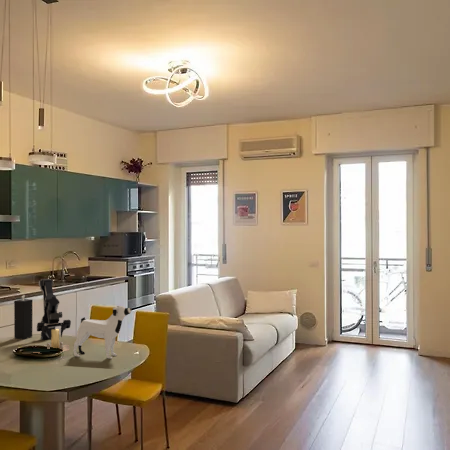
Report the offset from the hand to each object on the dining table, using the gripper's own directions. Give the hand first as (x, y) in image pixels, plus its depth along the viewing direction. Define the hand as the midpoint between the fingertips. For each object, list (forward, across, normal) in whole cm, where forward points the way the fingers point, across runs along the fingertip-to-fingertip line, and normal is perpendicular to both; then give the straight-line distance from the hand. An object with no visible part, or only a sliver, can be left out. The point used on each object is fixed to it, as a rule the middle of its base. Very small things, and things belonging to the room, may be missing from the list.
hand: (55, 337), depth 270 cm
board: (+4, -5, +7) cm, 10 cm away
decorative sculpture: (+23, +22, -12) cm, 34 cm away
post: (+4, 0, +6) cm, 7 cm away
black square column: (-26, -14, +37) cm, 47 cm away
